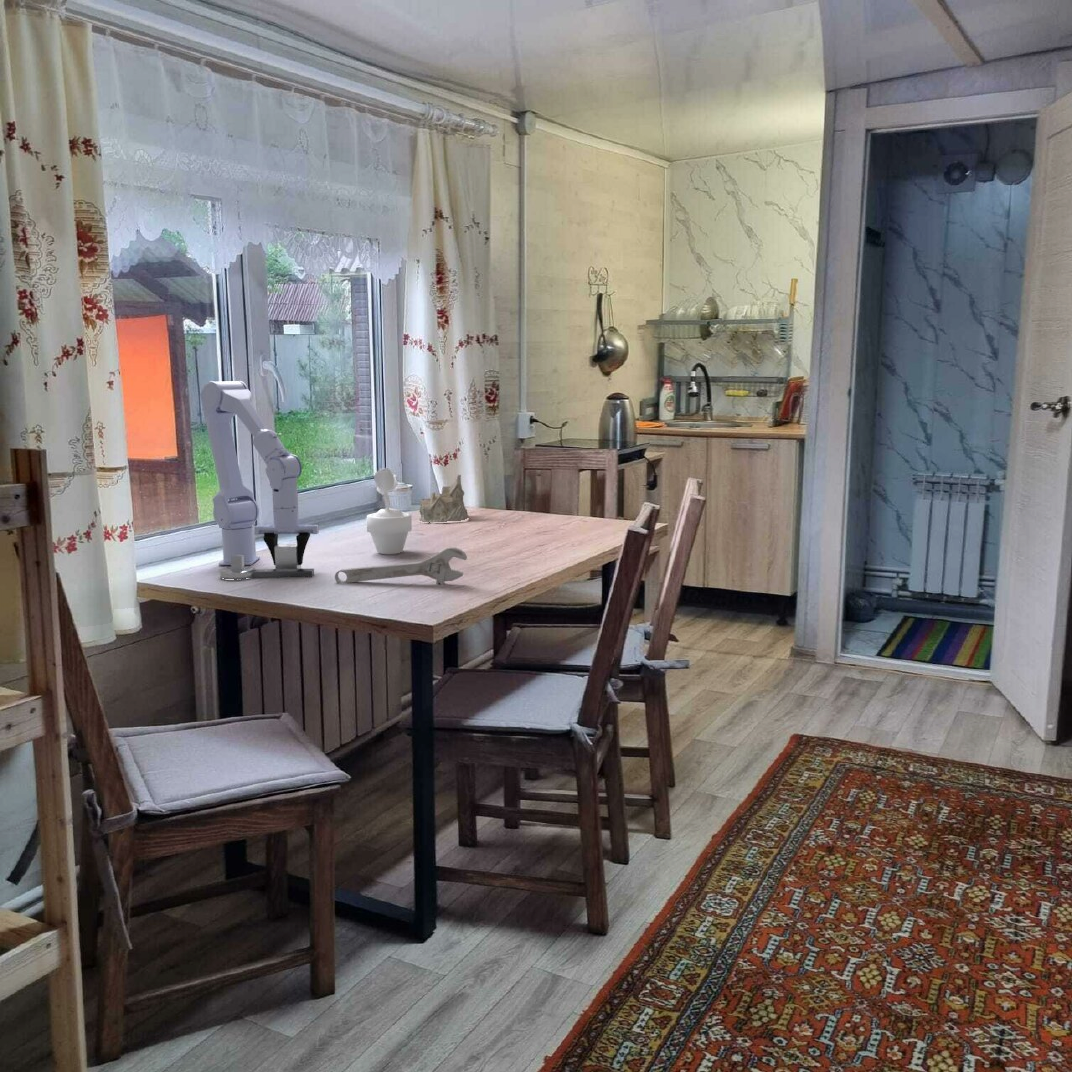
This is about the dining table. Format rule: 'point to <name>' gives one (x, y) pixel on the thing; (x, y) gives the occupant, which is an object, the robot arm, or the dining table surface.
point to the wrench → (410, 569)
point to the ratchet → (260, 571)
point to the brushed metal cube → (286, 556)
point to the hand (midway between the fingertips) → (288, 564)
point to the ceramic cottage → (445, 505)
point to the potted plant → (388, 518)
